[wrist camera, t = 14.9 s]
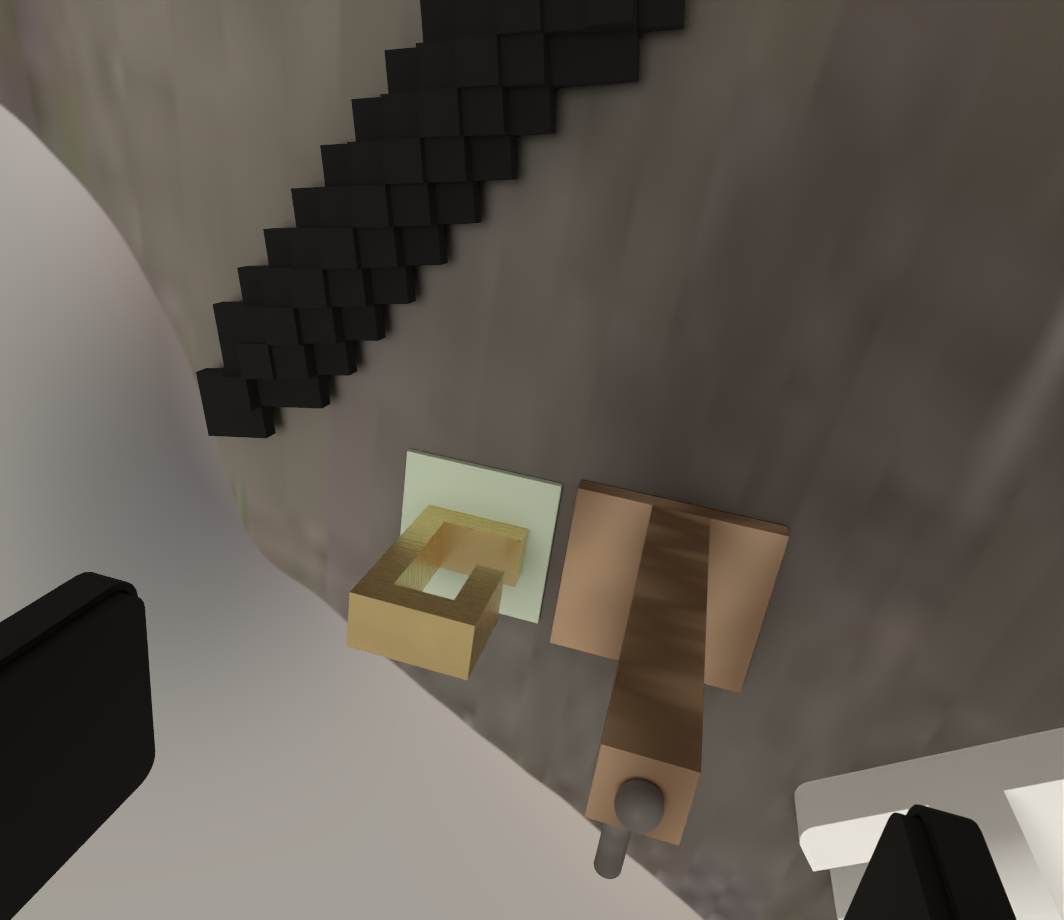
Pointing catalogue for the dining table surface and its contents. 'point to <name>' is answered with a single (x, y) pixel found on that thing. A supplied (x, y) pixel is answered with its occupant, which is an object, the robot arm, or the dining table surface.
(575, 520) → the stand
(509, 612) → the pad
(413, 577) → the c link
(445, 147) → the toy sword
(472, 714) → the dining table surface
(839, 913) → the white slotted holder
